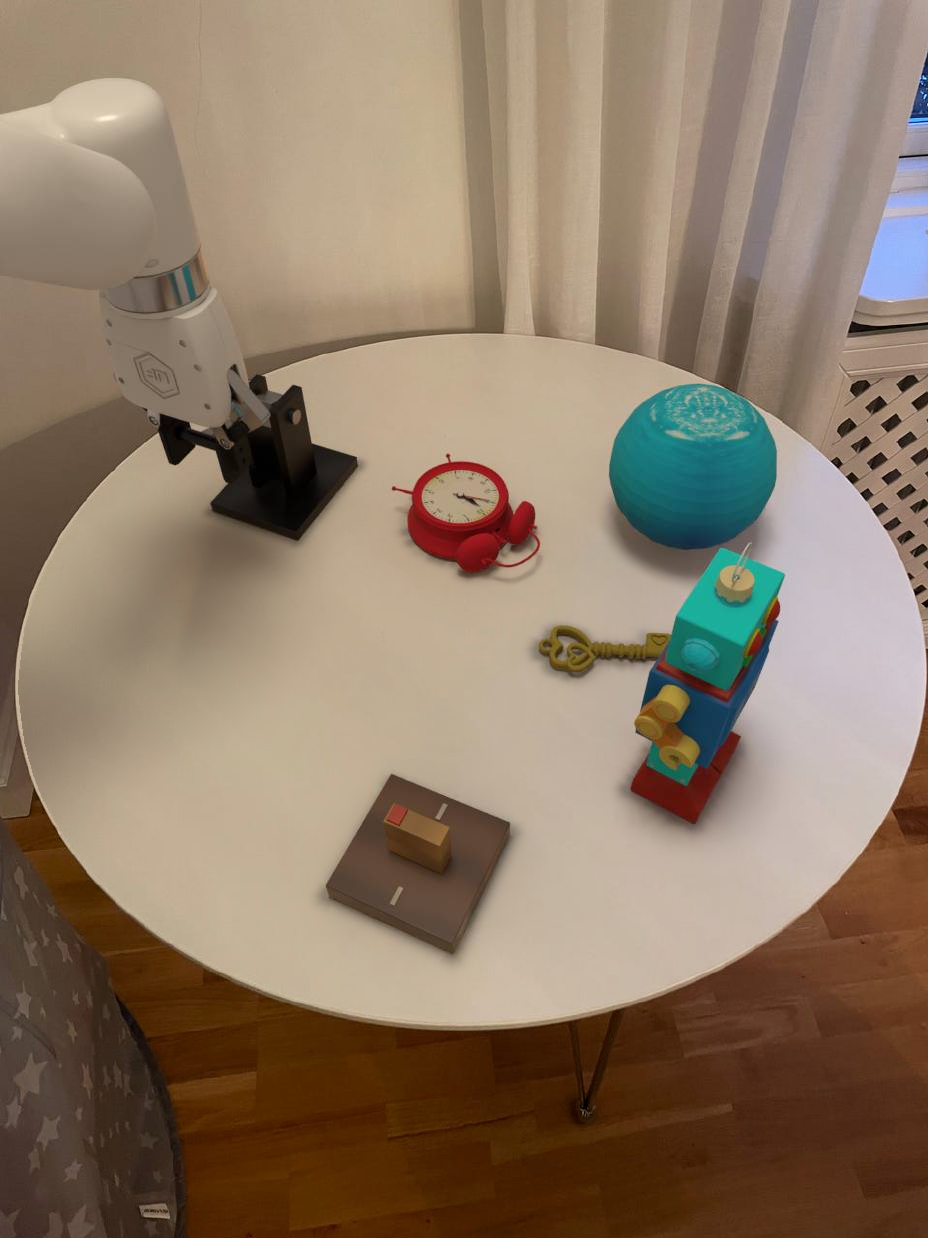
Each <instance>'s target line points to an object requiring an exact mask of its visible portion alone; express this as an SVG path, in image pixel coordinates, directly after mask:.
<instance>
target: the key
mask: <svg viewBox="0 0 928 1238" xmlns="http://www.w3.org/2000/svg"><path fill="white" fill-rule="evenodd" d="M645 635H646V637H645V638H646V639H645V640H646V644H642V645H641V644H639V643H637V644H636V645H635V644H634V643H630V644H629V645H625V644H624V643H623V642H620V643H619V644H612V642H605V641H602V642H600V643H599V641H593V643H592V641H591V640H590V639H589V637H588V636H587V635H586V634H585V633H584V632H583V631H582V630H580V629H578V627H577V628H576V627H573V626H571V625H557V626H555V627H553V628H552V630H551V632H550V635H549V636H550V637H549V638H543V639H542V640H541V641H540V642H539V644H538V648H539V651H540V652H541V653H542V654H545V655H549V656H548V660H549V664H550V666H551V667H552V668H553V669H555V670H557V671H570V672H571V673H582V672H584V671H585V670H587V669H588V668H589V667H591V665H592V664H593V663H594V662H595V661H596V657H598V656H599V655H600V657H601V658H604V657H606V658H611V656H612V655H613V656H618V658H620V659H622V658H624V656H628V658H629V659H631V660H632V659H634V658H635V659H636V660H640V659H641V660H647V658H649V657H650V658H659V656H660V655H661V653H662V651H663V650H664V648H665V647H666V645H667V644H668V642H669V641H670V638H671V634H670V633H665V632H647V633H646V634H645ZM558 636H568V637H571V638H574V639H576V640H577V641H578V642H575V641H574V642H570V643H569V644H568V646H567V647H566V654H567V656H568V658H567V660H559V659H558V658H557V656H558V655H559V654H560V653H561V652H563V649H564V645H563V643H562V642H561V641H560V640H559V639H558ZM546 645H550V646H551V647H550V648H545V647H544V646H546ZM573 650H578V651H581V652H582V653H581V654H580V655H578V656H576V654H575V653H574V652H573Z"/></svg>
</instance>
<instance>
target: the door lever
mask: <svg viewBox="0 0 928 1238" xmlns="http://www.w3.org/2000/svg"><path fill="white" fill-rule="evenodd" d="M283 394H284V393H279V392H275V391H273V390H269V389H268V391H266V392H264V393H262V394H259V395H257V396H256V397H257V398H258V399H259V400H260V401H261V402H262V404H263V405H264V406H265V407H266V408H267V409H268V410H269V409H270V408H271V407H272V406H273V405H274V404H275V403H276V402H277V401H278V400H279V399H280V398H281V396H282V395H283ZM243 415H244V414H243ZM225 425H226V427H227V429H228V428H229V427H230V426H231V425H232V422H231V420H230V419H228V420H227V421H226V422H225ZM263 426H266V427H269V428H271V425H270V420H269V418H268V419H267V420H266V422H265V423H264V424H263ZM175 436H176V438H177V439H179V440H183V441H186V442H189V443H192V444H195V445H196V446H199V447H201V448H205V449H208V450H211V451H214V452H216V451H215V448H216V446H217V445H218V444H219V442H218V440H217V438H216V436H215V435H214V433H213V431H212V429H211V428H209V427H207V428H206V429H203V430H201V431H200V430H197V429H194V428H192V427H191V428H188V427H185V426H178V427H177V429H176V431H175Z"/></svg>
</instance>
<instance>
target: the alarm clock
mask: <svg viewBox="0 0 928 1238" xmlns="http://www.w3.org/2000/svg"><path fill="white" fill-rule="evenodd" d="M450 457H451V454H450V453H446V454H445V458H447V461H448V462H445V463H441V464H438V465H435V466H433V467H431V468H430V469H428V470H426V471H424V473H423V474H421V475H420V476H419V478H417V480H416V482H415V484H414V486H413V489H412V490H407V489H402V488H398V487H396V486H395V485H393V486H392V487H391V491H392V492H395V491H398V492H401V493H403V494H408V495H411V505H410V507H409V510H408V513H407V518H406V519H407V529H408V532H409V534H410V536H411V538H412V540H413V541H414V542H415V543H416V544H417V546H419V547H420V548H421V549H423V550H424V551H426V552H427V553H429V554H432V555H433V556H436V557H440V558H444V559H448V560H455V561H456V563H457V565H458V566H459V568H461V570H463V571H464V572H468V573H476V572H481V571H483V570H485V569H488V568H489V567H490V566H492V565H493V564H494V565H495V566H499V567H502V568H513V567H518V566H520V565H523V564H524V563H526V562H528V561H529V560H531V558H533V557H534V556H535V555H536V554H537V553H538V551H539V550H540V548H541V542H540V539H539V537H538V536H537V534H535V533H534V531H533V530H537V529H538V526H537V525H535V521H536V509H535V506H534V505H533V504H532V503H531V502H530V501H527V500H523V501H521V503H519V505H518V506H517V507H516V509H515V511H513V508H512V505H511V504H510V502H509V501H510V494H509V490H508V487H507V484H506V482H505V480H504V479H503V478H502V476H501V475H500V474H499V473H498V472H497V471H495V470H494V469H492V468H490V467H489V466H486V465H484V464H481V463H478V462H473V461H465V460H463V461H461V460H460V461H459V460H458V461H452V460H451V458H450ZM530 535H531V536H532V537H533V538H534V539H535V541H536V543H537V544H536V548H535V550H534V551H533V552H532V553H531V554H529V556H527V557H525V558H524V559H522V560H521V561H517V562H515V563H511V564H504V563H500V562H497V559H498V557H499V553H500V548H501V547H502V546H504V545H505V544H507V543H509V544H510V545H514V546H520V545H522V544H523V543H525V542H526V541H527V540H528V538H529V537H530Z"/></svg>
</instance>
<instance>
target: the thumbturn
mask: <svg viewBox="0 0 928 1238" xmlns="http://www.w3.org/2000/svg"><path fill="white" fill-rule="evenodd" d="M383 822H384V828H385V834H386V840H387V845H388V850H389V851H392V852H394V853H396V854H398V855H401V856H403V857H405V858H407V859H409V860H412V861H414V862H416V863H418V864H421V865H423V866H425V867H427V868H429V869H432V870H434V871H436V872H438V873H441V874H442V873H443V871H444V869H445V868H446V866H447V864H448V862H449V860H450V858H451V839H450V827H448V826H446V825H444V824H441V823H439V822H437V821H434V820H432V819H430V818H428V817H425V816H423V815H421V814H418V813H416V812H414V811H411V810H409V809H407V808H404V807H402V806H400V805H397V804H395V803H394V804H393V805H392V807H391V809H390V810H389V812H388V814H387V816H386V817H385V819H384V821H383Z"/></svg>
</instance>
